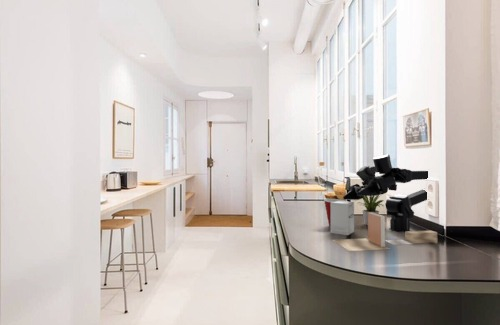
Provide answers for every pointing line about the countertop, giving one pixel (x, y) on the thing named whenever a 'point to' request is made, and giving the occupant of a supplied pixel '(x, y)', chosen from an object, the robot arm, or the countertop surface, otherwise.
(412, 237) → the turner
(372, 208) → the house plant
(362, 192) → the robot arm
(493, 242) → the countertop surface
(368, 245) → the board
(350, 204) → the supplement box
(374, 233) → the tile
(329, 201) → the plastic cup
